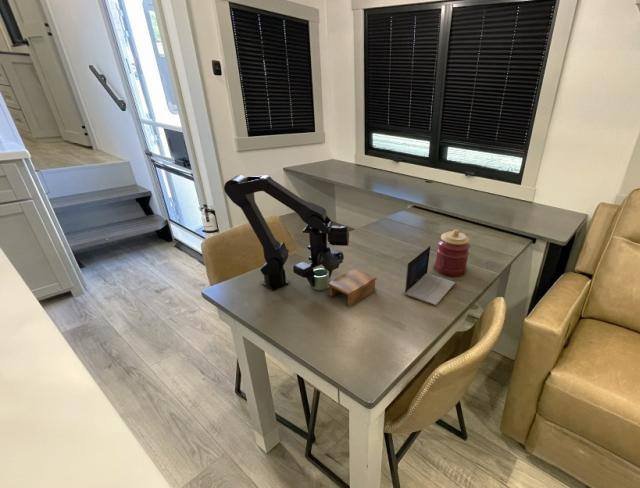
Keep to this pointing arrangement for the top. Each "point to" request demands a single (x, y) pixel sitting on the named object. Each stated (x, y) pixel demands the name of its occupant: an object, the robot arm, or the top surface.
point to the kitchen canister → (452, 253)
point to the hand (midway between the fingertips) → (320, 282)
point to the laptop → (425, 280)
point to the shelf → (353, 285)
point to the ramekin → (321, 279)
